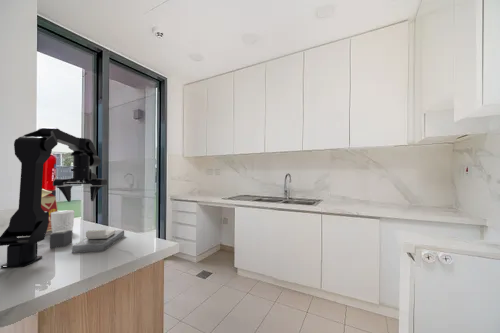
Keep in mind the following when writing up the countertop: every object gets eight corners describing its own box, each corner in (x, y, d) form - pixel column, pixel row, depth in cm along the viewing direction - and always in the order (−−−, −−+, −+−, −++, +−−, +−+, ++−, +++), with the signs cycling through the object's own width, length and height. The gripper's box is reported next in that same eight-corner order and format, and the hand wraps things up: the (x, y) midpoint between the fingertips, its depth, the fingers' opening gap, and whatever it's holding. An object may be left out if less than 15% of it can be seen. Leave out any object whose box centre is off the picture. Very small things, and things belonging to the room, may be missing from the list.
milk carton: (24, 232, 95) (25, 188, 95) (48, 227, 104) (49, 187, 104) (37, 234, 92) (38, 189, 92) (61, 228, 101) (62, 187, 101)
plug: (63, 247, 77) (64, 232, 77) (49, 247, 76) (50, 233, 76) (71, 242, 82) (72, 229, 82) (58, 243, 81) (59, 229, 81)
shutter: (105, 239, 77) (105, 230, 77) (84, 240, 76) (84, 231, 76) (115, 232, 85) (115, 225, 85) (97, 233, 84) (97, 225, 84)
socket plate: (103, 251, 73) (103, 244, 74) (72, 252, 72) (72, 245, 72) (124, 235, 90) (124, 230, 90) (98, 237, 88) (98, 231, 88)
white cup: (78, 231, 96) (79, 210, 96) (61, 237, 88) (62, 213, 88) (63, 231, 96) (63, 209, 97) (45, 236, 89) (45, 213, 89)
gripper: (113, 166, 102) (112, 198, 102) (70, 166, 99) (69, 199, 98) (100, 166, 91) (100, 202, 91) (52, 166, 88) (51, 203, 88)
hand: (80, 201), depth 92 cm, fingers open, 9 cm apart
